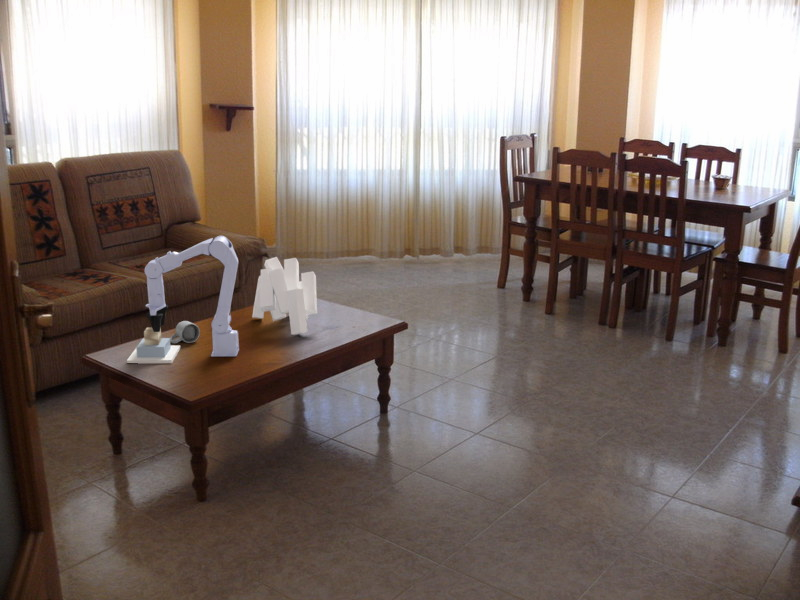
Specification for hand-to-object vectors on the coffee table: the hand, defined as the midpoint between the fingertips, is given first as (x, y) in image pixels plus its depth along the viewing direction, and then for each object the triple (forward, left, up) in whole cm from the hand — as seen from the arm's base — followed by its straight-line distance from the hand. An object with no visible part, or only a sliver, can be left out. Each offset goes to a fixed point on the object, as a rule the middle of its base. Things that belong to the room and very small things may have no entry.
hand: (159, 328), depth 307 cm
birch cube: (+2, +1, -5) cm, 6 cm away
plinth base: (+2, +1, -10) cm, 11 cm away
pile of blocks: (-44, -36, -11) cm, 58 cm away
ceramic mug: (-6, -15, -11) cm, 20 cm away
